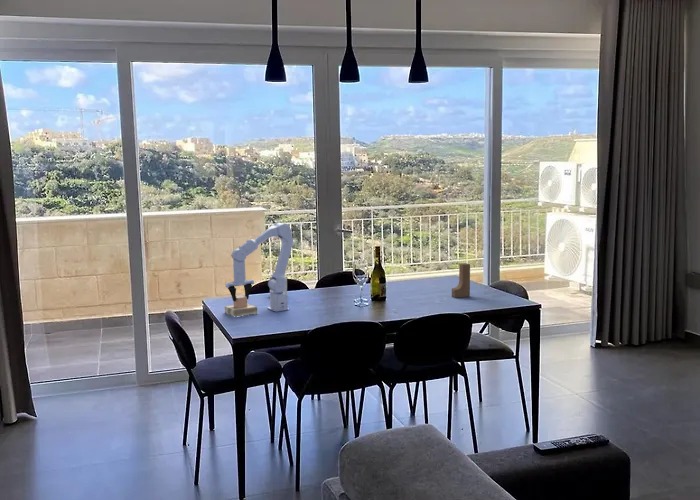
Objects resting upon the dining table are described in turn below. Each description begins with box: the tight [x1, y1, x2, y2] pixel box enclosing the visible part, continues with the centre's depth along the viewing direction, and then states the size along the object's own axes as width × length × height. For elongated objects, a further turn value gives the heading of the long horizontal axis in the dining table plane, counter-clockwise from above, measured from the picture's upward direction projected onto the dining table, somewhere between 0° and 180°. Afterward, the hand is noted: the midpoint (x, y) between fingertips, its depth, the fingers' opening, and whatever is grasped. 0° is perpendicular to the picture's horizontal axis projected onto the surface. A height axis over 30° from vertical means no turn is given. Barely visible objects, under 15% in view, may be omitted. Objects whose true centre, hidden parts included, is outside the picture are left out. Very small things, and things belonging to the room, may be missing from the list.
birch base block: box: [224, 302, 258, 318], centre depth 337 cm, size 12×12×4 cm
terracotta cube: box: [232, 294, 248, 308], centre depth 336 cm, size 5×5×5 cm
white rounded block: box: [269, 276, 288, 296], centre depth 376 cm, size 8×6×10 cm
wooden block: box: [451, 262, 471, 299], centre depth 366 cm, size 9×4×18 cm, turn 108°
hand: (240, 299), depth 336 cm, fingers open, 6 cm apart
